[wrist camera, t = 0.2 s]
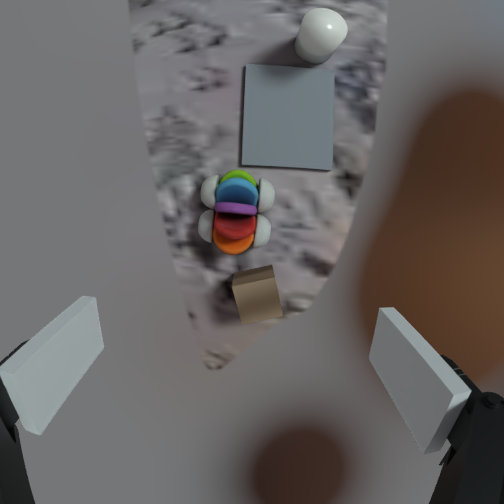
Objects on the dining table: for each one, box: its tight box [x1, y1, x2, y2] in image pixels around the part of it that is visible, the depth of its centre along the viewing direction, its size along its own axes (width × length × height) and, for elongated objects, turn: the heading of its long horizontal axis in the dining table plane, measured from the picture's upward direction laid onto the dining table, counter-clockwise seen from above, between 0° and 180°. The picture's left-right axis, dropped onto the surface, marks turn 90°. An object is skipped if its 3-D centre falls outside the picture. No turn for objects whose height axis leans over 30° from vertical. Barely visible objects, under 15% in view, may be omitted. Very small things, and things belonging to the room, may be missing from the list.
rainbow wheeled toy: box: [198, 170, 275, 255], centre depth 35 cm, size 8×10×7 cm
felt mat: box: [242, 64, 334, 170], centre depth 35 cm, size 13×11×1 cm
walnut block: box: [232, 265, 283, 324], centre depth 38 cm, size 5×5×5 cm
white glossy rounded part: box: [295, 8, 347, 64], centre depth 29 cm, size 5×5×7 cm
